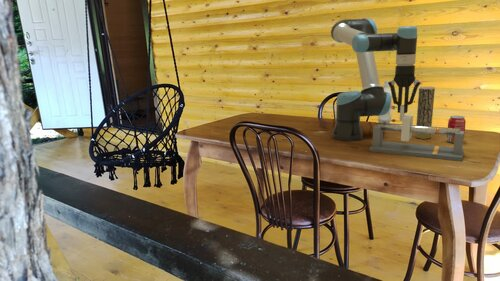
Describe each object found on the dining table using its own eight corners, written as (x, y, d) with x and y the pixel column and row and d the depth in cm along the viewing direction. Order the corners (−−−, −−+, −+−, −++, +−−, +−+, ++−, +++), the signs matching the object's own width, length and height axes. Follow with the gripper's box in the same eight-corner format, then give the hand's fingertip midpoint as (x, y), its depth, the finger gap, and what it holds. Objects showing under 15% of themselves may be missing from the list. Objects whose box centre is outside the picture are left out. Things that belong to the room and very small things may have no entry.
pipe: (377, 130, 162) (377, 123, 161) (378, 129, 165) (379, 122, 164) (459, 137, 145) (459, 129, 145) (459, 135, 148) (460, 127, 147)
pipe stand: (368, 151, 161) (369, 129, 158) (376, 143, 172) (377, 123, 170) (462, 161, 142) (464, 136, 140) (463, 152, 154) (465, 129, 151)
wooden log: (432, 139, 175) (436, 87, 169) (417, 139, 177) (421, 88, 171) (428, 136, 182) (432, 86, 176) (414, 136, 183) (417, 86, 177)
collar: (400, 140, 155) (402, 117, 152) (404, 136, 162) (405, 114, 160) (408, 141, 153) (410, 118, 151) (411, 136, 161) (413, 114, 158)
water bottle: (389, 125, 209) (391, 82, 203) (376, 124, 213) (378, 81, 207) (391, 123, 215) (394, 80, 209) (379, 122, 219) (381, 80, 212)
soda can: (449, 139, 174) (451, 114, 171) (465, 141, 170) (468, 116, 167) (444, 142, 170) (446, 117, 167) (460, 144, 165) (463, 118, 162)
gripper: (387, 65, 151) (384, 120, 157) (421, 65, 145) (416, 122, 150) (390, 64, 157) (388, 117, 163) (423, 64, 151) (419, 119, 156)
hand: (401, 120), depth 157 cm, fingers closed
